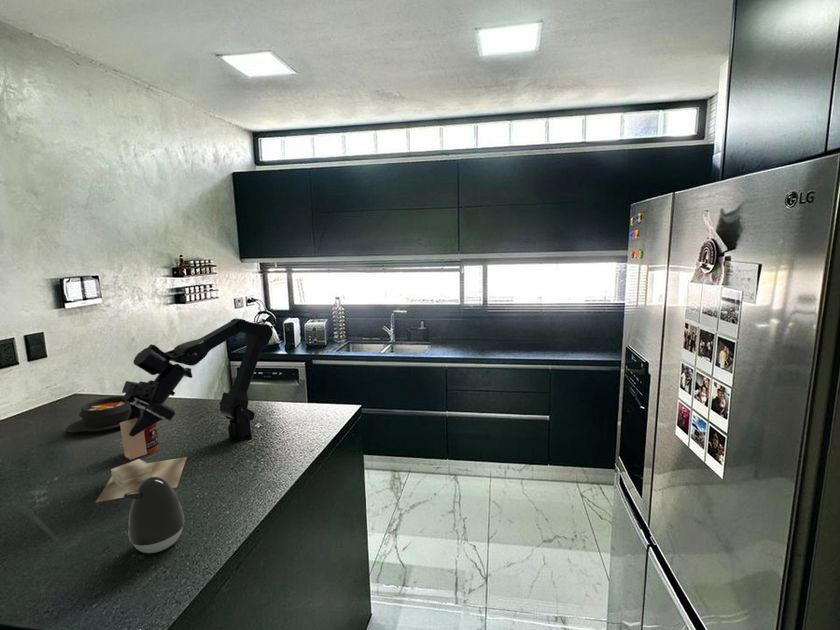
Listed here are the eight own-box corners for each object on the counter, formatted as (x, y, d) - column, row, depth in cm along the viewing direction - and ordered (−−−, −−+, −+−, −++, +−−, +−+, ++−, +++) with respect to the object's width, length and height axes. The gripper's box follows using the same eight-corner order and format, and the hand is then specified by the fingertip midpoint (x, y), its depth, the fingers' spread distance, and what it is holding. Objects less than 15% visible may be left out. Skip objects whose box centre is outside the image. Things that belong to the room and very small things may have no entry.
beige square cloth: (187, 458, 131) (186, 456, 131) (177, 489, 115) (176, 487, 115) (117, 470, 125) (116, 468, 125) (95, 504, 109) (95, 502, 109)
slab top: (140, 464, 123) (139, 458, 123) (151, 471, 120) (151, 465, 119) (111, 475, 118) (110, 469, 118) (123, 483, 114) (122, 476, 114)
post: (140, 450, 122) (136, 417, 120) (147, 453, 119) (142, 420, 118) (124, 456, 118) (119, 422, 117) (130, 459, 116) (125, 425, 115)
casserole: (151, 409, 173) (148, 389, 171) (151, 425, 157) (148, 403, 156) (71, 424, 160) (67, 402, 158) (62, 443, 144) (58, 419, 143)
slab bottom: (140, 470, 124) (140, 464, 123) (152, 477, 120) (151, 471, 120) (112, 481, 118) (111, 475, 118) (124, 489, 114) (123, 483, 114)
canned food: (146, 459, 132) (141, 424, 130) (124, 457, 133) (119, 423, 132) (165, 447, 139) (161, 414, 137) (144, 445, 141) (140, 413, 139)
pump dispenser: (120, 551, 92) (110, 484, 89) (170, 523, 100) (162, 462, 98) (146, 568, 86) (136, 498, 84) (196, 538, 95) (188, 473, 93)
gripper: (126, 364, 124) (85, 413, 117) (157, 373, 113) (115, 429, 106) (158, 383, 132) (122, 430, 124) (191, 394, 121) (153, 447, 114)
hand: (127, 433), depth 117 cm, fingers closed on post, 4 cm apart
